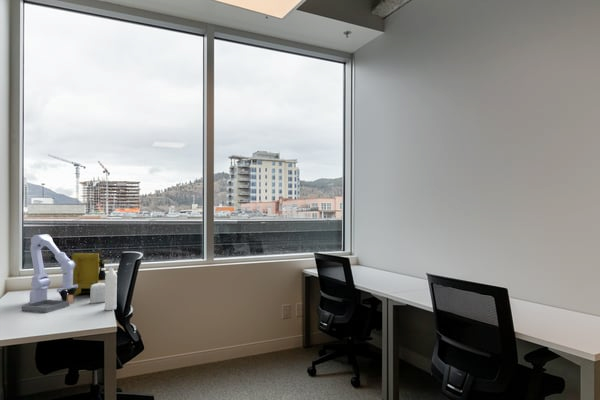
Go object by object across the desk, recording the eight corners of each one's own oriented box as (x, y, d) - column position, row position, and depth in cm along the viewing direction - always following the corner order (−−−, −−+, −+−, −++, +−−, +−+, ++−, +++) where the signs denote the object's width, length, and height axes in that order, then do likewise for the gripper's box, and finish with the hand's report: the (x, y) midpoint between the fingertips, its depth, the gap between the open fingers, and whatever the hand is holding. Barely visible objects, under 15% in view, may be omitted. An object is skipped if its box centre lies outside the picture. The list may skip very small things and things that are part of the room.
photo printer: (107, 300, 248) (107, 281, 248) (108, 301, 244) (108, 282, 245) (89, 302, 242) (90, 283, 242) (90, 304, 239) (90, 284, 239)
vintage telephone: (118, 292, 272) (119, 251, 273) (109, 297, 258) (110, 253, 259) (74, 292, 271) (75, 251, 272) (63, 297, 257) (64, 253, 258)
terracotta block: (61, 303, 239) (61, 295, 239) (66, 302, 243) (66, 294, 243) (67, 304, 238) (68, 296, 238) (73, 302, 242) (73, 294, 242)
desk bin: (21, 310, 222) (21, 305, 222) (45, 304, 237) (45, 299, 237) (46, 312, 217) (46, 307, 217) (69, 306, 233) (69, 301, 233)
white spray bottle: (115, 307, 231) (116, 266, 232) (117, 309, 226) (118, 268, 226) (99, 309, 226) (100, 267, 227) (101, 311, 221) (102, 269, 221)
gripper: (63, 282, 233) (62, 303, 233) (81, 278, 247) (81, 298, 247) (54, 281, 235) (53, 303, 234) (73, 277, 249) (72, 298, 248)
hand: (67, 300), depth 241 cm, fingers closed on terracotta block, 4 cm apart
